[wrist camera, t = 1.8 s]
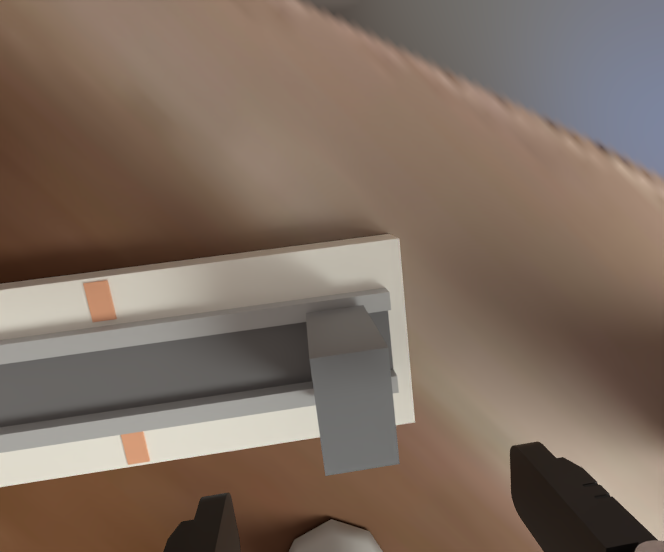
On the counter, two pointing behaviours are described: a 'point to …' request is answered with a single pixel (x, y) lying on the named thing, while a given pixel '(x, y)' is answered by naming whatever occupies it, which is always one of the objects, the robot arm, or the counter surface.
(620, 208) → the counter surface
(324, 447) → the fader tab
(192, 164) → the counter surface
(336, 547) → the flask
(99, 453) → the fader console
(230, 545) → the robot arm
